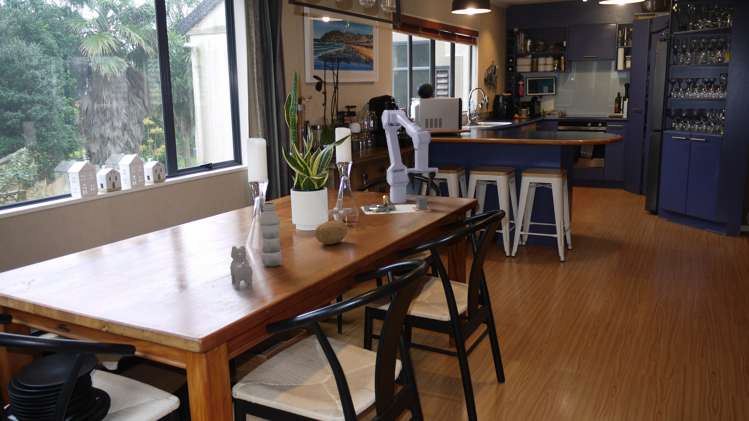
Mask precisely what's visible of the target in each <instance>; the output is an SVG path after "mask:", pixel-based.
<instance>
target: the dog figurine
mask: <svg viewBox="0 0 749 421" xmlns="http://www.w3.org/2000/svg"><path fill="white" fill-rule="evenodd" d="M245 247H246V246H244V245H240V246H239V247H237V246H236V245H235V246H231V251H230V252H231V253H230V257H231V258H232V261H231V263H230V268H229V269H230V277H231V284H233V285H235V288H234V290H235V291H240V287H241V285H240V284H241V282H242V281H243V282H245V283H248V287H247V289H253V287H254V286H253V268H252V266H251V265H250V262H249V261H248V259H247V252H246V248H245Z"/></svg>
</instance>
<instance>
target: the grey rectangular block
mask: <svg viewBox="0 0 749 421" xmlns="http://www.w3.org/2000/svg"><path fill="white" fill-rule="evenodd" d="M415 204H416V207H417V208H418V209H419V210H425V209H427V207H428V198H427V197H426V196H425V195H416V196H415Z"/></svg>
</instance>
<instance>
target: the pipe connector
mask: <svg viewBox="0 0 749 421" xmlns="http://www.w3.org/2000/svg"><path fill="white" fill-rule="evenodd" d="M336 200H337V202H336V203H337V204H336V205H337V207H333V209H329V210H327V215H337V220H340V221H343V217H345V216H347V213H349V214H350V213H352V211H353V209H352V207H347V208H346V207H345V208H343V200H342V199H341V198H339V199H336Z"/></svg>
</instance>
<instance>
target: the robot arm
mask: <svg viewBox="0 0 749 421" xmlns="http://www.w3.org/2000/svg"><path fill="white" fill-rule="evenodd" d="M381 123H382V128H383V130H385V137H386V142H387V143H386V144H387V148H388V149H387V150H388V154H389V155H388V156H389V160H390V161H389V162H390V166H389V167H388V169H387V168H386V182H387V183H388V184H389V185H390V189H389V200H390V202H391V203H393V204H403V203H406V202H407V185H408V183H410V186H411V190H412V191H414V190H415V174H427V176H428V177H427V178H428V186H427V187H428V188H427V189H429V190H432V186H433V183H434V180H435V179H436V177H437V174H438V173H439V168H438V167H429V144H430V143H431V140H432V136H431V133H430V132H429V130H424V129H423V128H421V127H420V125H419V124H417V123H416V122H412V121H411V120H410V119H409V118H408V117H407V113H406V112H405V111H404V109H393V110H392V109H389V110H388V109H384V110H383V112H382V115H381ZM401 127H404V128H405V132H406V134H408V135H409V137H410V138H412V139H411V140H412V143H413V148H414V163H415V164H414V167H413V168H408V167H407V166H406V165H404V164H403V162H402V156H401V150H400V144H399V139H398V130H399V129H400V128H401Z"/></svg>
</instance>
